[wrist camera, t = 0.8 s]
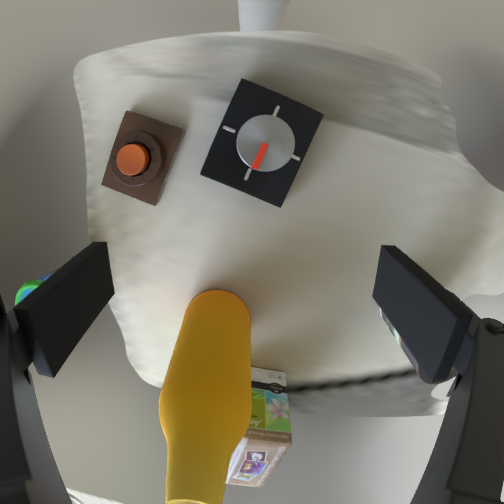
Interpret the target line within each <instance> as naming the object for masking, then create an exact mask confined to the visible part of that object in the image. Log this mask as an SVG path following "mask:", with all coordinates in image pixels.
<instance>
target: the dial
mask: <svg viewBox="0 0 504 504" xmlns="http://www.w3.org/2000/svg"><path fill="white" fill-rule="evenodd" d="M294 148H295V139H294V135H293V132H292V130H291V128H290V127H289V126H288V124H287V123H286V122H284V121H283V120H282V119H280V118H278V117H276V116H272V115H259V116H255V117H253V118H251V119H249V120H248V121H247V122H245V124H244V125H243V126H242V127H241V129H240V131H239V133H238V136H237V150H238V153H239V155H240V157H241V159H242V160H243V161H244V162H245V163H246V164H247V165H248V166H249V167H251V168H253V169H255V170H258V171H273V170H277V169H279V168H281V167H282V166H284V165H285V164H286V163H287V162H288V161H289V160H290V158H291V156H292V155H293V152H294Z"/></svg>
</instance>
